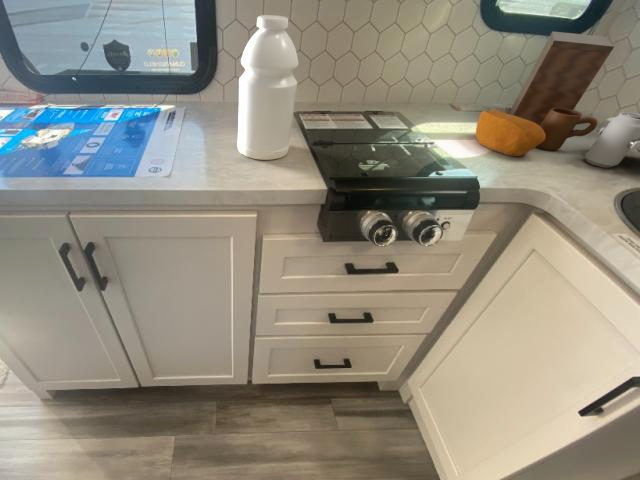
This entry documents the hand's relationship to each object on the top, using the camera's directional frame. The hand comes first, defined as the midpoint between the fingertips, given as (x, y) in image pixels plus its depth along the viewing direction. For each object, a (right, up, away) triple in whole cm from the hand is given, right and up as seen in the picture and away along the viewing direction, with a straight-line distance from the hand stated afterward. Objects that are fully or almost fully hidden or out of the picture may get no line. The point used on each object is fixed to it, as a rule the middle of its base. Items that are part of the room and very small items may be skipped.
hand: (615, 138), depth 89 cm
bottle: (-92, -2, +4) cm, 92 cm away
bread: (-21, +3, +12) cm, 24 cm away
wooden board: (+4, +21, +30) cm, 37 cm away
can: (0, -5, +5) cm, 7 cm away
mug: (-5, +3, +12) cm, 14 cm away
